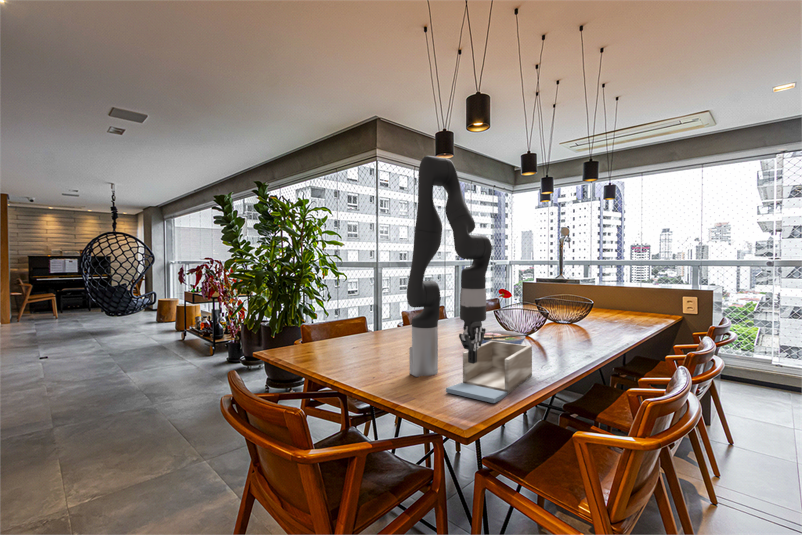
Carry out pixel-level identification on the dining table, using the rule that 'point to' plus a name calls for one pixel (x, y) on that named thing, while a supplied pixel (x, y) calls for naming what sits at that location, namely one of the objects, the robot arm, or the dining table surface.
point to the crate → (499, 366)
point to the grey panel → (477, 392)
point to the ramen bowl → (503, 336)
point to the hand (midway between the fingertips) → (472, 362)
